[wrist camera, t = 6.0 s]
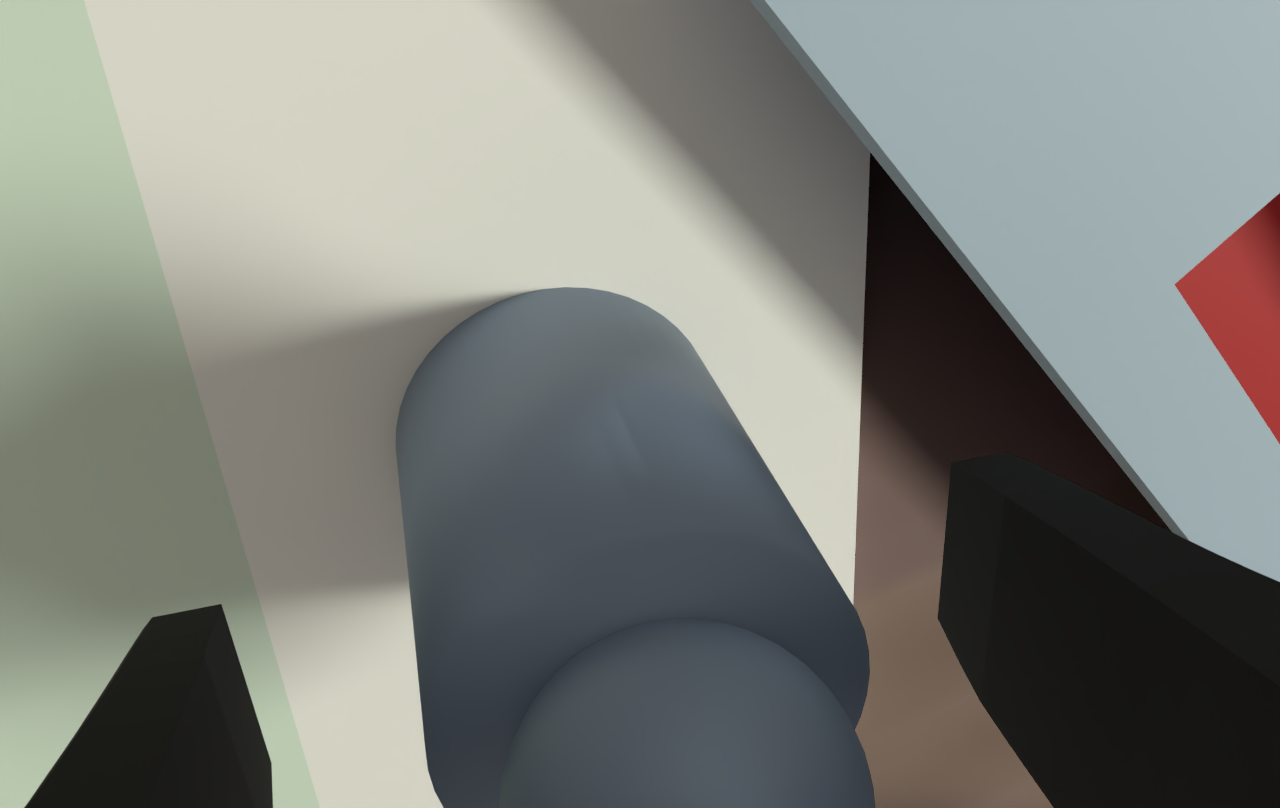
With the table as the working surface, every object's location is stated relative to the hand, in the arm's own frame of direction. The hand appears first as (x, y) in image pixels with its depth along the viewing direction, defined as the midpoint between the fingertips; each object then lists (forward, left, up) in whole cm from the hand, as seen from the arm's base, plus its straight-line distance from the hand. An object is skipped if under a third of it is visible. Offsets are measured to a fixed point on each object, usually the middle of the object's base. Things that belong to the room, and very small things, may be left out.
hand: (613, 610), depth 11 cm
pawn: (0, 0, -4) cm, 4 cm away
